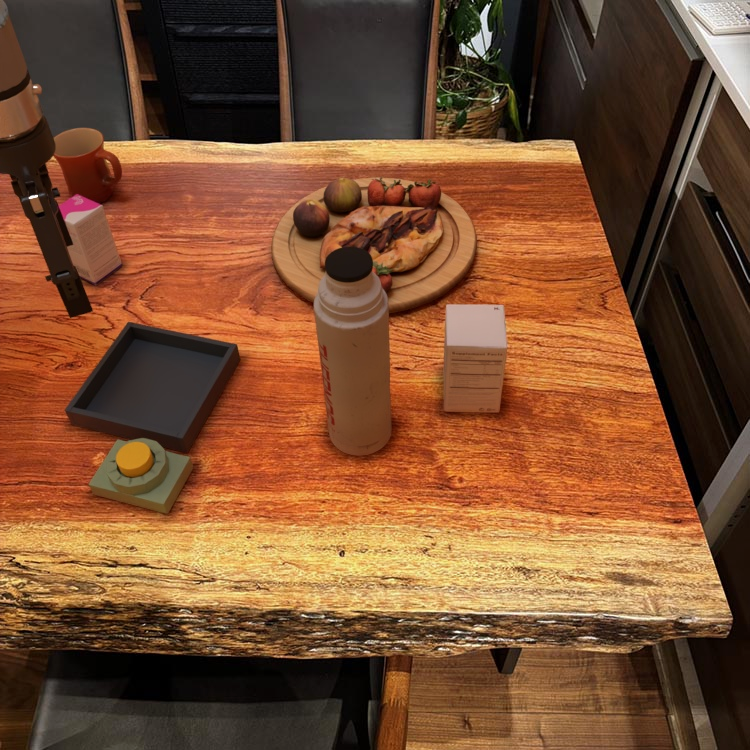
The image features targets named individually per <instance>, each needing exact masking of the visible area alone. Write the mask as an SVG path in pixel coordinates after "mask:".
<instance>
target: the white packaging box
mask: <svg viewBox="0 0 750 750" xmlns="http://www.w3.org/2000/svg"><path fill="white" fill-rule="evenodd" d="M505 313H506V310H505V304H470V303H469V304H468V303H467V304H466V303H465V304H460V303H459V304H458V303H457V304H453V303H452V304H449V303H448V304H446V305H445V315H444V316H445V317H444V336H443V337H444V339H443V340H444V341H443V367H442V369H443V374H442V375H443V377H442V378H443V412H445V413H446V412H449V413H450V412H451V413H487V414H489V413H490V414H491V413H494V414H495V413H500V410H501V402H502V393H503V386H504V378H505V371H506V363H507V356H508V337H507V323H506V314H505Z"/></svg>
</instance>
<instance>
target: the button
mask: <svg viewBox="0 0 750 750" xmlns="http://www.w3.org/2000/svg"><path fill="white" fill-rule="evenodd" d="M116 462H117V465H118V467H119V469H120V471H121V473H122V474H123V475H125V476H127V477H132V478H134V477H140V476H142V475H144V474H146V473H147V472H148V471H149V470H150V469H151V468H152V466H153V462H154V459H153V456H152V453H151V451H150V448H149V447H148V446H147V445H146V444H144V443H142V442H131V443H128V444H126V445H124V446H123V447H122V448H121V449H120V450H119V451H118V453H117V455H116Z"/></svg>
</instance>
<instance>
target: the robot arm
mask: <svg viewBox="0 0 750 750" xmlns="http://www.w3.org/2000/svg"><path fill="white" fill-rule="evenodd" d="M42 92H43V88H42V86H41V85H40V84H39V83H36V84H33V81H32V78H31V74H30V71H29V69H28V66H27V63H26V60H25V57H24V53H23V51H22V49H21V46H20V43H19V41H18V38H17V35H16V32H15V29H14V26H13V23H12V21H11V18H10V15H9V9H8V6H7V3H6V2H5V1H4V0H0V174H1V175H9V177H10V180H11V181H10V184H11V187H12V190H13V193H14V195H15V196H16V197H17V198H18V199H19V202H20V205H21V207H22V211H23V213H24V216H25V218H27V219H28V220H29V223H30V225H31V227H32V230H33V233H34V236H35V238H36V241H37V244H38V246H39V248H40V251H41V254H42V256H43V259H44V262H45V264H46V266H47V269H48V271H49V274H48V275H45V276H44V279H45V280H46V282H51V283H52V284H53V286H55V287H56V289H57V291H58V294H59V296H60V299H61V301H62V303H63V305H64V307H65V310H66V312H67V314H68V317H69V319H73V318H76V317H79V316H83V315H86V314H89V313H92V312H94V309H93V307H92V304H91V301H90V299H89V296H88V294H87V291H86V289H85V286H84V284H83V282H82V278H80V276H79V274H78V271H77V269H76V266H73V263H72V260H71V257H70V254H69V252H68V249H67V247H68V246H71V245H73V242H72V239H71V236H70V234H69V231H68V229H67V226H66V224H65V221H64V218H63V216H62V213H61V211H60V208H59V204H58V201H57V200H56V198H60V197H61V193H60V191H59V188H58V186H56V187H53V183H52V180H51V177H50V174H49V169H48V167H47V164H48V162H49V161H50V160H52V158H54V156H53V155H54V153H55V150H56V144H55V141H54V136H53V133H52V131H51V127H50V124H49V122H48V120H47V118H46V116H45V115H44V111H43V107H42V105H41V103H40V100H39V99H40V98H39V97H38V95H41V94H42Z"/></svg>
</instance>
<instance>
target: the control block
mask: <svg viewBox="0 0 750 750" xmlns="http://www.w3.org/2000/svg"><path fill="white" fill-rule="evenodd" d="M131 442H142V443H144V444H146V445H147V446H148V447H149V448H150V451H151V453H152V456H153V459H154V462H153V466H152V468H151V469H150V470H149V471H148V472H147V473H146V474H144V475H142V476H140V477H134V478H132V477H127V476H125V475H123V474H122V473H121V471H120V469H119V467H118V465H117V462H116V455H117V453H118V451H119V450H120V449H121V448H122V447H123V446H124V445H126V444H128V443H131ZM193 469H194V464H193V461H192V459H191V457H190V456H187V455H183V454H179V453H174V452H171V451H167V450H166V449H165V448H164V447H162V446H161V445H160V444H159V443H158V442H157V441H154V440H150V439H146V438H140V439H135V440H131V439H128V440H127V441H125V440H122V439H119V438H118V439H117V438H116V441H115V442H114V444H113V445H112V447H111V449H110V450H109V452H108V453H107V455H106V456H105V458H104V459H103V461H102V462H101V464H100V465H99V467H98V468H97V470H96V471H95V473H94V475H93V476H92V478H91V479H90V481H89V483H88V487H89V488H90V491H91V492H92V494H93V496H98V497H102V498H106V499H109V500H113V501H117V502H120V503H125V504H129V505H132V506H135V507H139V508H144V509H147V510H151V511H154V512H158V513H161V514H166V515H169V514H170V512H171V509H172V508H173V506H174V504H175V502H176V501H177V499H178V497H179V495H180V493H181V491H182V490H183V488H184V486H185V484H186V482H187V480H188V478H189V477H190V475H191V473H192V471H193Z"/></svg>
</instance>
